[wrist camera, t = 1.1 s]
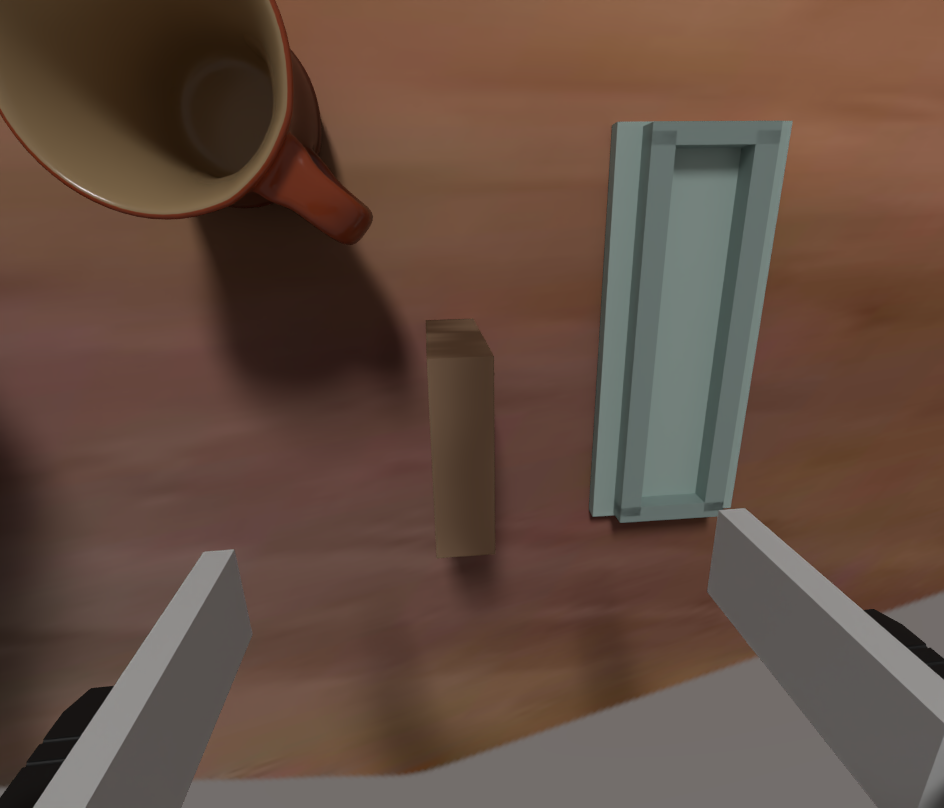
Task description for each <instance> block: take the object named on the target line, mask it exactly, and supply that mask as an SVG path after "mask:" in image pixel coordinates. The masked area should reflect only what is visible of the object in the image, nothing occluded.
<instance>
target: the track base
mask: <svg viewBox="0 0 944 808" xmlns="http://www.w3.org/2000/svg"><path fill="white" fill-rule="evenodd" d="M791 127H792V121H654V122H617V123H615V124H613V125H612V135H611V152H610V168H609V185H608V201H607V218H606V234H605V251H604V268H603V284H602V301H601V317H600V334H599V351H598V367H597V384H596V400H595V417H594V433H593V450H592V467H591V483H590V500H589V511H590V513H591V515H592V516H593V517H595V516H611V515H615V516H616V517H617V519H618V520H619V522H620V523H625V522H640V521H655V520H670V519H685V518H700V517H715V516H718V511H719V510H723V508H730V507H731V501H732V495H733V489H734V482H735V476H736V470H737V464H738V458H739V451H740V445H741V439H742V433H743V426H744V420H745V414H746V408H747V401H748V395H749V389H750V383H751V377H752V370H753V364H754V358H755V352H756V345H757V339H758V333H759V327H760V320H761V314H762V308H763V302H764V296H765V289H766V283H767V277H768V271H769V264H770V258H771V252H772V246H773V240H774V233H775V227H776V221H777V215H778V208H779V202H780V196H781V190H782V183H783V177H784V171H785V165H786V159H787V152H788V146H789V140H790V134H791Z"/></svg>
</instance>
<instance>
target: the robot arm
mask: <svg viewBox="0 0 944 808" xmlns="http://www.w3.org/2000/svg"><path fill="white" fill-rule="evenodd" d="M707 592H708V594H709V595H710V596H711V597H712V599H713V600H714V601H715V602H716V604H717V605H718V606H719V607H720V609H721V610H722V611H723V612H724V614H725V615H726V616H727V618H728V619H729V620H730V621H731V623H732V624H733V625H734V626H735V628H736V629H737V630H738V631H739V633H740V634H741V635H742V637H743V638H744V639H745V640H746V642H747V643H748V644H749V645H750V647H751V648H752V649H753V650H754V652H755V653H756V654H757V656H758V657H759V658H760V659H761V661H762V662H763V663H764V664H765V666H766V667H767V668H768V669H769V671H770V672H771V673H772V675H773V676H774V677H775V678H776V680H777V681H778V682H779V683H780V685H781V686H782V687H783V688H784V690H785V691H786V692H787V693H788V695H789V696H790V697H791V699H792V700H793V701H794V702H795V704H796V705H797V706H798V707H799V709H800V710H801V711H802V712H803V714H804V715H805V716H806V718H807V719H808V720H809V721H810V723H811V724H812V725H813V726H814V728H815V729H816V730H817V732H818V733H819V734H820V735H821V737H822V738H823V739H824V740H825V742H826V743H827V744H828V745H829V747H830V748H831V749H832V750H833V752H834V753H835V754H836V756H837V757H838V758H839V759H840V761H841V762H842V763H843V764H844V766H845V767H846V768H847V769H848V771H849V772H850V773H851V775H852V776H853V777H854V778H855V780H856V781H857V782H858V783H859V785H860V786H861V787H862V788H863V790H864V791H865V792H866V794H867V795H868V796H869V797H870V799H871V800H872V801H873V802H874V804H875V805H876V806H877V807H878V808H944V658H942V657H941V656H940V655H939V654H937V653H936V652H935V651H934V650H932V649H931V648H927V647H926V644H925V643H924V642H923V641H922V640H920V639H919V638H918V637H917V636H916V635H914V634H913V633H912V632H911V631H909V630H908V629H907V628H906V627H905V626H903V625H902V624H900V623H898V622H897V621H895V620H893V619H891V618H889V617H888V616H886V615H884V614H882V613H880V612H878V611H877V610H875V609H869V610H862V609H861V608H860V607H859V606H858V605H856V604H855V603H854V602H853V601H852V600H851V599H850V598H848V597H847V596H846V595H845V594H844V593H843V592H841V591H840V590H839V589H838V588H837V587H836V586H834V585H833V584H832V583H831V582H830V581H829V580H827V579H826V578H825V577H824V576H823V575H822V574H821V573H819V572H818V571H817V570H816V569H815V568H814V567H812V566H811V565H810V564H809V563H808V562H807V561H805V560H804V559H803V558H802V557H801V556H800V555H798V554H797V553H796V552H795V551H794V550H793V549H792V548H790V547H789V546H788V545H787V544H786V543H785V542H783V541H782V540H781V539H780V538H779V537H778V536H776V535H775V534H774V533H773V532H772V531H771V530H769V529H768V528H767V527H766V526H765V525H764V524H763V523H761V522H760V521H759V520H758V519H757V518H756V517H754V516H753V515H752V514H751V513H750V512H749V511H747V510H746V509H745V508H741V509H729V510H719V511H718V519H717V526H716V533H715V540H714V547H713V554H712V561H711V568H710V575H709V582H708V590H707ZM251 637H252V630H251V625H250V620H249V616H248V611H247V606H246V602H245V597H244V592H243V587H242V583H241V578H240V573H239V569H238V564H237V559H236V555H235V550H234V549H233V550H221V551H209V552H203V554H202V555H201V557H200V558H199V560H198V561H197V563H196V564H195V566H194V567H193V569H192V570H191V572H190V573H189V575H188V576H187V578H186V579H185V581H184V582H183V584H182V585H181V587H180V588H179V590H178V591H177V593H176V594H175V596H174V597H173V599H172V600H171V602H170V603H169V605H168V606H167V608H166V609H165V611H164V612H163V614H162V615H161V617H160V618H159V620H158V621H157V623H156V624H155V626H154V627H153V629H152V630H151V632H150V633H149V635H148V636H147V638H146V639H145V641H144V642H143V644H142V645H141V647H140V648H139V650H138V651H137V653H136V654H135V656H134V657H133V659H132V660H131V662H130V663H129V665H128V666H127V668H126V669H125V671H124V672H123V674H122V675H121V677H120V678H119V680H118V681H117V683H116V684H115V686H109V687H99V688H91V689H90V690H88V691H87V692H86V693H85V694H84V695H83V696H81V697H80V698H79V699H78V700H77V701H76V702H74V703H73V704H72V705H71V706H70V707H69V708H68V709H66V710H65V711H64V712H63V713H62V715H61V716H60V717H59V719H58V720H57V721H56V723H55V724H54V725H53V727H52V728H51V729H50V731H49V732H48V734H47V735H46V736H45V738H44V739H43V740H44V741H43V743H42V744H39V746H38V747H37V748H36V750H35V751H34V753H33V754H32V755H31V757H30V758H29V759H28V761H27V765H26V767H23V768H22V769H21V770H20V772H19V773H18V774H17V776H16V777H15V778H14V780H13V781H12V782H11V784H10V785H9V786H8V788H7V789H6V791H5V792H4V793H3V795H2V796H1V797H0V808H181V807H182V804H183V802H184V799H185V797H186V795H187V792H188V790H189V787H190V785H191V782H192V780H193V778H194V775H195V773H196V770H197V768H198V765H199V763H200V761H201V758H202V756H203V753H204V751H205V748H206V746H207V744H208V741H209V739H210V736H211V734H212V731H213V729H214V727H215V724H216V722H217V719H218V717H219V715H220V712H221V710H222V707H223V705H224V702H225V700H226V698H227V695H228V693H229V690H230V688H231V685H232V683H233V681H234V678H235V676H236V673H237V671H238V668H239V666H240V664H241V661H242V659H243V656H244V654H245V651H246V649H247V647H248V644H249V642H250V639H251Z"/></svg>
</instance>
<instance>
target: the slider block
mask: <svg viewBox="0 0 944 808" xmlns="http://www.w3.org/2000/svg"><path fill="white" fill-rule="evenodd" d="M426 349H427V375H428V395H429V415H430V436H431V456H432V476H433V496H434V516H435V537H436V557H437V558H447V557H461V556H475V555H489V554H495V452H494V356H493V354H492V352H491V350H490V348H489V347H488V345H487V343H486V341H485V339H484V338H483V336H482V334H481V332H480V330H479V329H478V327H477V325H476V323H475V321H474V319H449V320H426Z"/></svg>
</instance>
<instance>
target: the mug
mask: <svg viewBox="0 0 944 808" xmlns="http://www.w3.org/2000/svg"><path fill="white" fill-rule="evenodd" d="M0 115H1V116H2V118H3V120H4V121H5V123H6V124H7V126H8V127H9V128H10V130H11V131H12V133H13V134H14V135H15V137H16V138H17V139H18V140H19V142H20V143H21V144H22V145H23V147H24V148H25V149H26V150H27V151H28V152H29V153H30V154H31V155H32V156H33V157H34V158H35V160H36V161H37V162H38V163H39V164H41V165H42V166H43V167H44V168H45V169H46V170H47V171H48V172H49V173H51V174H52V175H53V176H54V177H56V178H57V179H58V180H60V181H61V182H62V183H63V184H65V185H66V186H68V187H69V188H71V189H72V190H74V191H76V192H77V193H79V194H80V195H82V196H84V197H86V198H88V199H90V200H92V201H93V202H96V203H98V204H100V205H103V206H105V207H107V208H110V209H113V210H116V211H118V212H121V213H125V214H129V215H133V216H137V217H143V218H150V219H166V220H167V219H183V218H189V217H195V216H200V215H204V214H208V213H211V212H214V211H217V210H220V209H223V208H225V207H234V208H254V207H263V206H266V205H269V204H272V203H276V204H279V205H281V206H284V207H286V208H288V209H290V210H292V211H294V212H295V213H297V214H298V215H300V216H301V217H302V218H304V219H305V220H306V221H308V222H309V223H310V224H312V225H313V226H314V227H316V228H317V229H319V230H320V231H321V232H323V233H324V234H326V235H327V236H329V237H331V238H332V239H334V240H336V241H338V242H340V243H342V244H346V245H353V244H356V243H357V242H358V241H359V240H360V239H361V238H362V237H363V236H364V234H365V233H366V232H367V230H368V229H369V227H370V225H371V223H372V221H373V215H372V212H371V211H370V209H369V208H368V207H367V206H366V205H365V204H364V203H362V202H361V201H360V200H359V199H358V198H356V197H355V196H354V195H353V194H352V193H350V192H349V191H348V190H347V189H346V188H345V187H344V186H343V185H342V184H341V183H340V182H339V181H338V180H337V178H336V177H335V176H334V175H333V173H332V172H331V171H330V169H329V168H328V167H327V165H326V164H325V163H324V162H323V160H322V159H321V158H320V157H319V153H320V149H321V140H322V128H321V117H320V111H319V106H318V102H317V98H316V94H315V91H314V88H313V86H312V83H311V81H310V78H309V76H308V74H307V72H306V70H305V69H304V67H303V65H302V64H301V62H300V61H299V59H298V58H297V57H296V55H295V54H294V53H293V51H292V50H291V49H290V46H289V42H288V37H287V33H286V29H285V26H284V23H283V20H282V17H281V14H280V11H279V9H278V6H277V4H276V1H275V0H0Z"/></svg>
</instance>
